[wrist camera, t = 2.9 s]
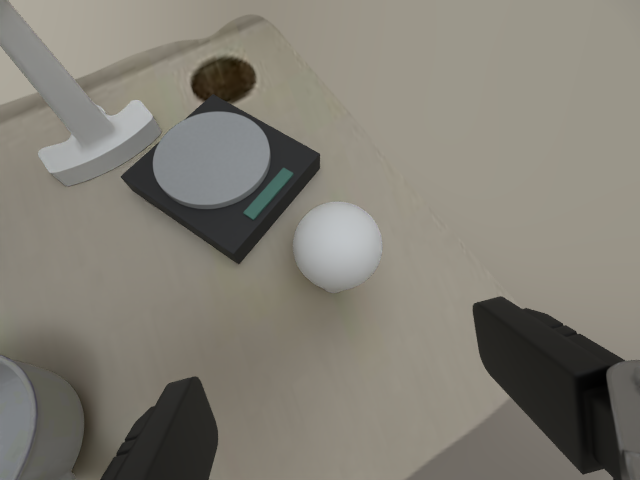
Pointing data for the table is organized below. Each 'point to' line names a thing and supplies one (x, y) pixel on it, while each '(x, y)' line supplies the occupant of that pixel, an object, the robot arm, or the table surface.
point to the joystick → (75, 110)
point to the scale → (224, 175)
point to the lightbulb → (337, 246)
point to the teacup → (37, 423)
